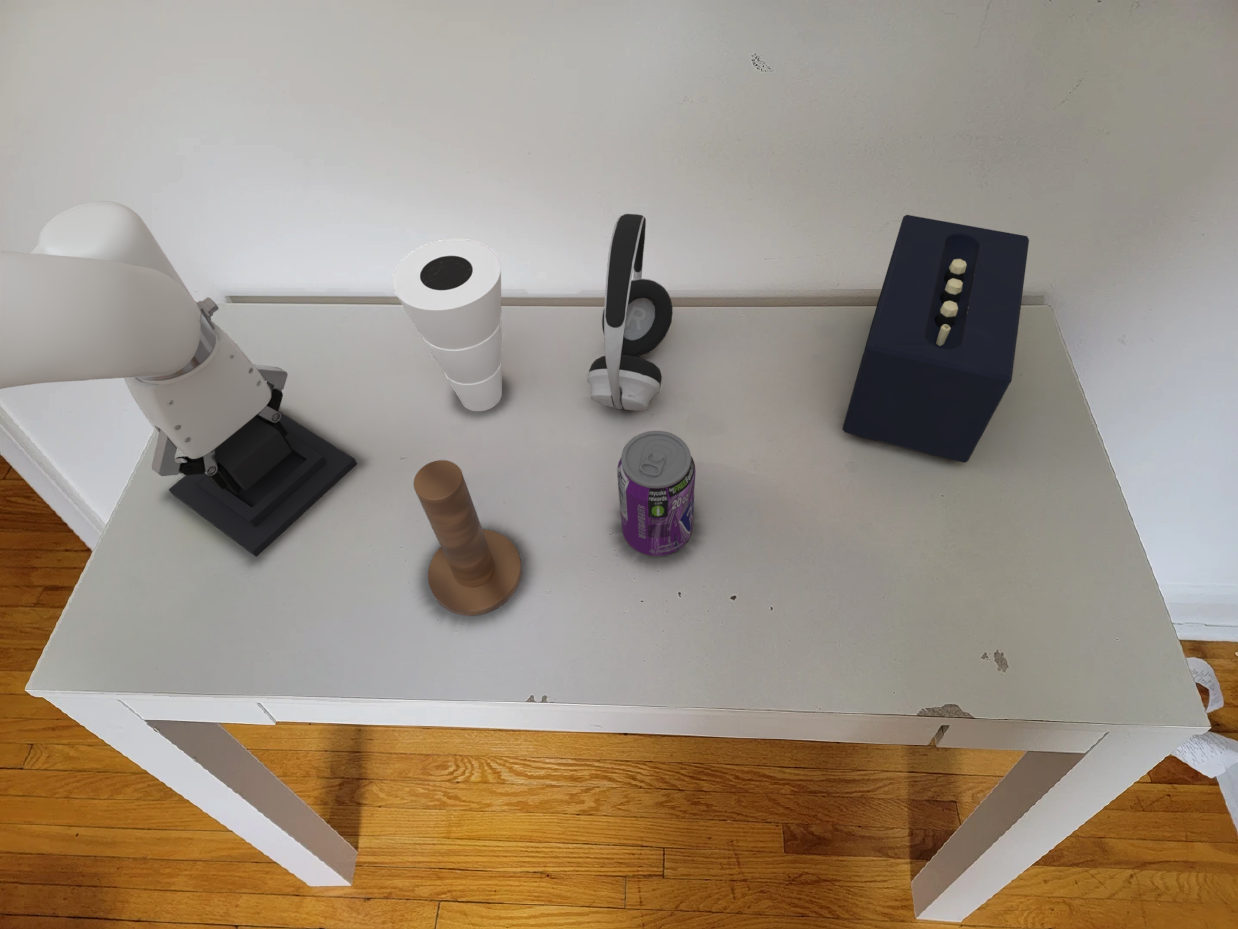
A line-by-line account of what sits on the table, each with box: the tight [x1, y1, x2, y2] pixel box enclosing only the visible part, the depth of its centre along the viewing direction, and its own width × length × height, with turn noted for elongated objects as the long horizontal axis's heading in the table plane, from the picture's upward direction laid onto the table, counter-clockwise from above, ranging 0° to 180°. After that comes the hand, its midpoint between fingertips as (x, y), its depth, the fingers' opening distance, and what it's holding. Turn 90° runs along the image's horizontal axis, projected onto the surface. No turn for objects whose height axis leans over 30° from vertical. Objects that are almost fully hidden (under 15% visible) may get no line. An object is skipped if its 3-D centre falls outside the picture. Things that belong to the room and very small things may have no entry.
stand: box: [413, 459, 523, 617], centre depth 69 cm, size 9×9×16 cm
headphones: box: [586, 213, 674, 411], centre depth 82 cm, size 19×8×20 cm, turn 172°
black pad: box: [215, 416, 291, 490], centre depth 79 cm, size 6×6×4 cm
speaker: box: [842, 214, 1030, 464], centre depth 81 cm, size 22×13×15 cm, turn 159°
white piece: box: [391, 237, 503, 412], centre depth 82 cm, size 11×11×18 cm
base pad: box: [168, 410, 358, 557], centre depth 82 cm, size 14×14×2 cm
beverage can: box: [616, 430, 697, 557], centre depth 72 cm, size 7×7×12 cm
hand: (254, 463), depth 81 cm, fingers closed on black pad, 5 cm apart
